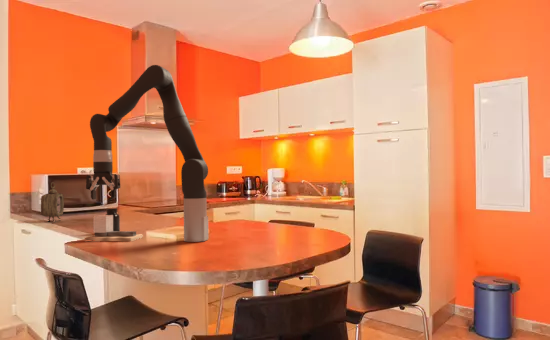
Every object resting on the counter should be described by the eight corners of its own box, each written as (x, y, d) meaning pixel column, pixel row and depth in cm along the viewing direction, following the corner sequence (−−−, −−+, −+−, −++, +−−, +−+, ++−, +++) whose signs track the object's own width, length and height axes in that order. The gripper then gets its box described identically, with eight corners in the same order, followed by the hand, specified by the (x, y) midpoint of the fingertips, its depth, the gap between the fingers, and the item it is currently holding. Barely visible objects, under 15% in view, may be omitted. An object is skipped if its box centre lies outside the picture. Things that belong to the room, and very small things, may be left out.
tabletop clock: (56, 222, 242) (56, 182, 243) (40, 223, 240) (40, 182, 241) (63, 220, 256) (63, 182, 257) (48, 220, 254) (48, 182, 255)
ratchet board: (142, 237, 171) (142, 219, 171) (130, 241, 160) (130, 222, 161) (99, 237, 173) (99, 219, 174) (84, 241, 163) (84, 222, 163)
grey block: (113, 230, 170) (113, 215, 170) (106, 232, 164) (106, 216, 165) (100, 230, 171) (100, 215, 171) (93, 232, 165) (93, 216, 165)
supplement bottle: (122, 232, 188) (122, 207, 189) (113, 234, 182) (113, 208, 182) (110, 232, 190) (110, 207, 191) (100, 234, 184) (100, 208, 184)
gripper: (123, 161, 171) (123, 198, 171) (92, 162, 173) (92, 199, 172) (114, 160, 164) (114, 199, 163) (82, 161, 165) (82, 200, 165)
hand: (103, 199), depth 168 cm, fingers open, 8 cm apart
